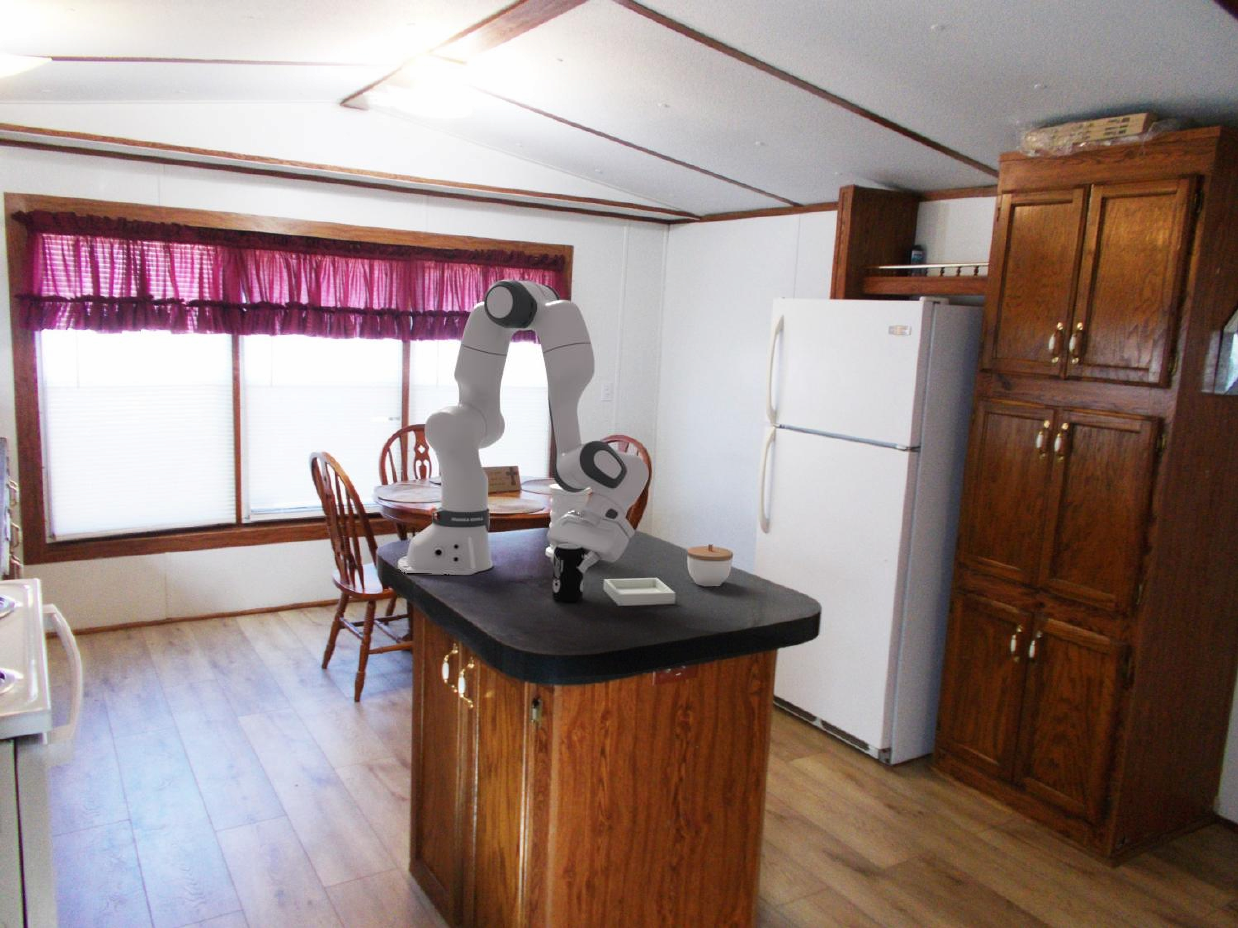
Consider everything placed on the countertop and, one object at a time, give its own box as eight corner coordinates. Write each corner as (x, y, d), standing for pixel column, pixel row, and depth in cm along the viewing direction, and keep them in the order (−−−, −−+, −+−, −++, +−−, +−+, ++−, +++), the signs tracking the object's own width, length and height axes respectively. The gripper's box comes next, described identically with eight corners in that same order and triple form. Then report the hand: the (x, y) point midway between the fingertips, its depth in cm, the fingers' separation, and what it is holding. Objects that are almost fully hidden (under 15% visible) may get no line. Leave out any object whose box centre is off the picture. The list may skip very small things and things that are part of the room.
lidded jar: (682, 576, 220) (684, 538, 218) (725, 577, 221) (728, 539, 220) (689, 589, 209) (692, 549, 208) (735, 589, 210) (738, 550, 209)
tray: (618, 605, 193) (619, 594, 193) (603, 589, 205) (603, 579, 205) (674, 603, 197) (675, 592, 196) (656, 587, 209) (657, 577, 208)
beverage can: (578, 604, 193) (580, 549, 191) (548, 601, 194) (550, 546, 192) (585, 596, 199) (588, 542, 198) (556, 593, 200) (558, 540, 199)
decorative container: (542, 549, 241) (544, 482, 239) (585, 549, 244) (588, 483, 242) (549, 560, 230) (551, 490, 228) (594, 559, 233) (597, 490, 231)
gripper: (562, 501, 206) (527, 548, 200) (627, 515, 192) (592, 567, 186) (575, 518, 210) (542, 565, 204) (640, 534, 196) (606, 585, 190)
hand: (566, 566), depth 195 cm, fingers closed on beverage can, 6 cm apart
